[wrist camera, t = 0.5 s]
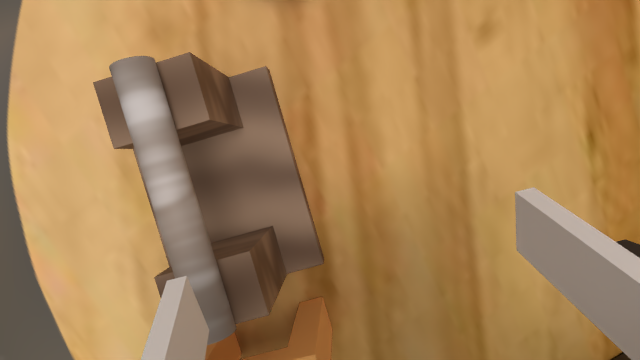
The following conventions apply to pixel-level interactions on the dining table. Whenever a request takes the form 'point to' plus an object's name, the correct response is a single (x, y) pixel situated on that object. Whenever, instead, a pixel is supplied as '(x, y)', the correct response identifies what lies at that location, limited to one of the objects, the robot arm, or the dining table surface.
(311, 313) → the orange open frame
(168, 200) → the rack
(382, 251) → the dining table surface
